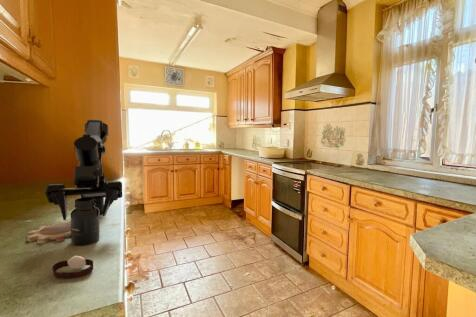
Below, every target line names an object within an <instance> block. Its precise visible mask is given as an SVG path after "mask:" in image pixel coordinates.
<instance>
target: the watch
mask: <svg viewBox="0 0 476 317" xmlns="http://www.w3.org/2000/svg"><path fill="white" fill-rule="evenodd" d="M85 266H88V267H87V268H85V269H82V268H84V267H85ZM65 267H70V268H72V269H74V270H75V269H77V271H71V272H69V271H68V272H65V271H64V272H63V271H62V272H58V270H60V269H62V268H65ZM78 269H82V270H78ZM51 270H52V273H53V277H55V278H56V277H57V278H56V279H61V278H62V279H63V280H71V279H77V278H83V277H85V276H88V275H89V274H91V273H92V272H93V271H94V261H93V260H92V259H88V258H85V257H83V256H80V255H74V256H72V257H71V258H69V259H66V260H65V259H64V260H61V261H58V262H56V263H55V264H54V265H52V268H51Z"/></svg>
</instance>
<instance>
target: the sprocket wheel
mask: <svg viewBox="0 0 476 317" xmlns="http://www.w3.org/2000/svg"><path fill="white" fill-rule="evenodd" d="M36 228H37V229H35V230H33V229H32V230H29V231H28V232H27V236H26V237H27V238H26V240H27V242H29V243H31V242H35V241H36V242H37V244H46V243H48V242H49V241H56V243H58V242H64V241H65V240H66V238H71V220H69V221H68V222H61V221H56V222H53V224H50V225H40V226H38V227H36Z"/></svg>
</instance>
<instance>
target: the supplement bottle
mask: <svg viewBox="0 0 476 317" xmlns="http://www.w3.org/2000/svg"><path fill="white" fill-rule="evenodd" d="M95 205H96V203H95V198H93V197H83V198H81V197H79V198H76V199H75V200H74V209H73V210H71V212H70V221H71V236H70V243H71V244H72V245H73V246H77V247H78V246H81V247H83V246H87V245H88V246H89V245H92V244H94V243H97V242H98V241H99V239H100V238H101V237H100V236H101V235H100V234H101V232H100V221H101V220H100V214H99V209H98V208H97V207H95Z"/></svg>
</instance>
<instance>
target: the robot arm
mask: <svg viewBox="0 0 476 317" xmlns="http://www.w3.org/2000/svg"><path fill="white" fill-rule="evenodd" d="M108 136H109V124H106V123H104V122H103V120H101V119H87V122H85V123H84V134H82V136H81V137H78V138H76V139H75V140H74V142H73V145H74V146H73V149H74V153H75V155H76V159H77V161H78V165H77V166H74V171H73V179H74V182H73V185H74V186H75V187H67V188H66V186H65V184H64V183H53V184H48V185H46V186H45V190H44V193H45V195H46V198H47V201H48V203H50V204H53V205H55V206H57V205H58V207H59V208H60V212H61V215H62V220H63V221H67V220H66V219H67V216H68V215H67V213H68V212H67V211H68V202H67V198H68V196H80V198H83V197H93V198H95V203H96V205H95V207H97V208H98V209H99V215H102V216H103V217H106V215H107V213H108V210H109V209H110V207H111V206H112V204H113V203H114V202H115V201H117V200H118V199H121V198H123V183H122V181H121V180H118V181H117V180H116V181H115V180H114V181H106V177H105V173H104V169H103V168H104V166H103V164H102V162H103V160H102V158H103V155H105V152H106V151H107V149H106V148H107V147H106V146H105V145H104V144H105V143H106V142H107V140H108V139H107V138H108Z"/></svg>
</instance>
